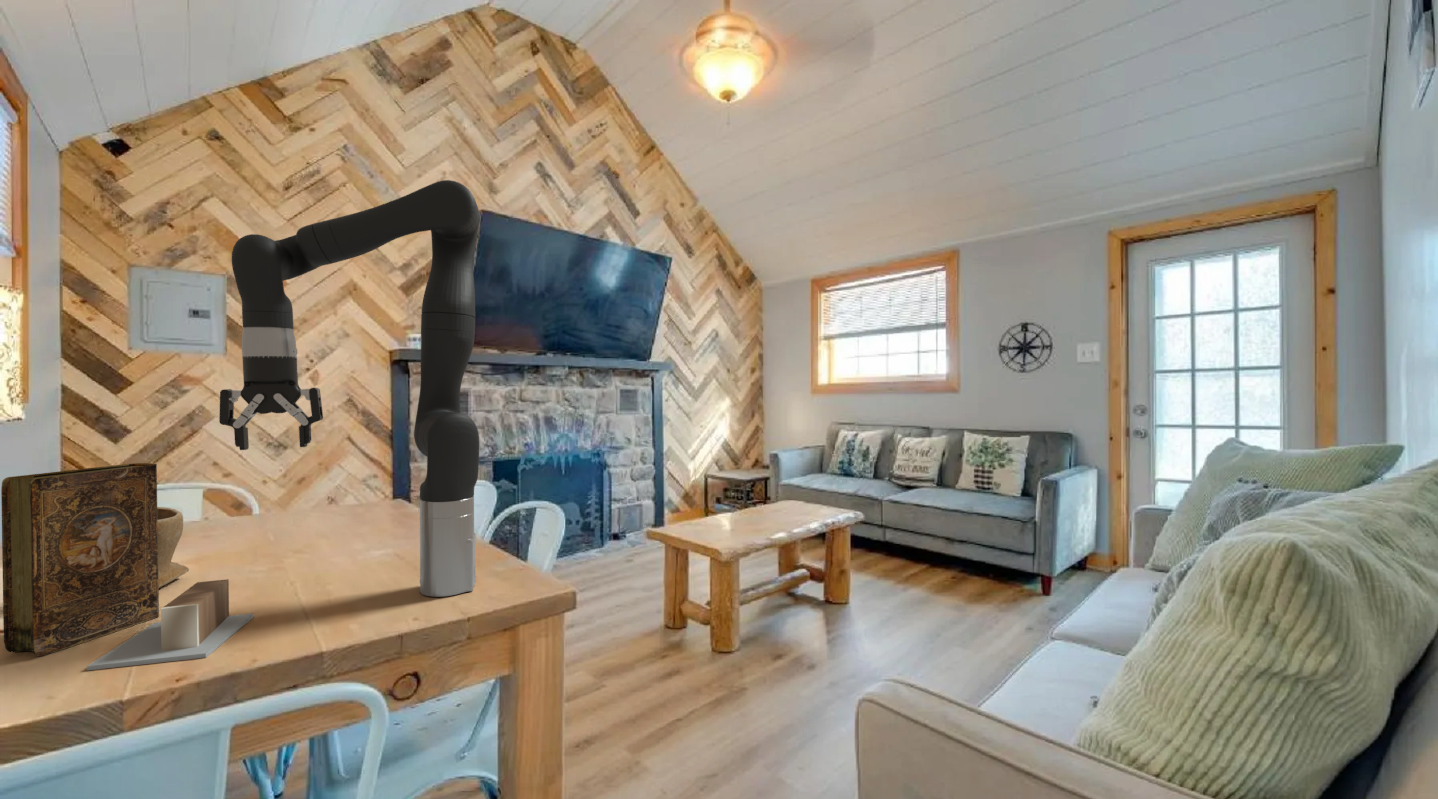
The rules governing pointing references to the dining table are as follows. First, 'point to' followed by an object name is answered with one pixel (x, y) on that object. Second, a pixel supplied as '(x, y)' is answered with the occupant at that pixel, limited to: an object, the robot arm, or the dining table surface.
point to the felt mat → (149, 650)
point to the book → (78, 555)
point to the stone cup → (169, 544)
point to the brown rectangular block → (194, 614)
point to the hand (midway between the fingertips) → (274, 448)
